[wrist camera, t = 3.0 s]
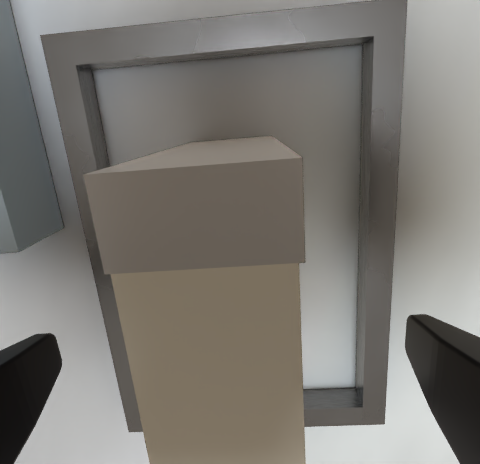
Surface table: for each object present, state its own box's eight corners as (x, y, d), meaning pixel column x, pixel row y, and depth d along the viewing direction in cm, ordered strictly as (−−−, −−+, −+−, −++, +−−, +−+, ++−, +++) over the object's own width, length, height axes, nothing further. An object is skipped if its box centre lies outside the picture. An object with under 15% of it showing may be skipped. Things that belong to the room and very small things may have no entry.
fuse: (214, 342, 16) (170, 584, 8) (190, 142, 14) (82, 174, 5) (282, 339, 16) (313, 583, 8) (271, 135, 13) (302, 157, 5)
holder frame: (136, 412, 18) (128, 432, 17) (59, 43, 13) (40, 35, 12) (375, 404, 17) (384, 424, 16) (392, 8, 12) (407, -4, 11)
